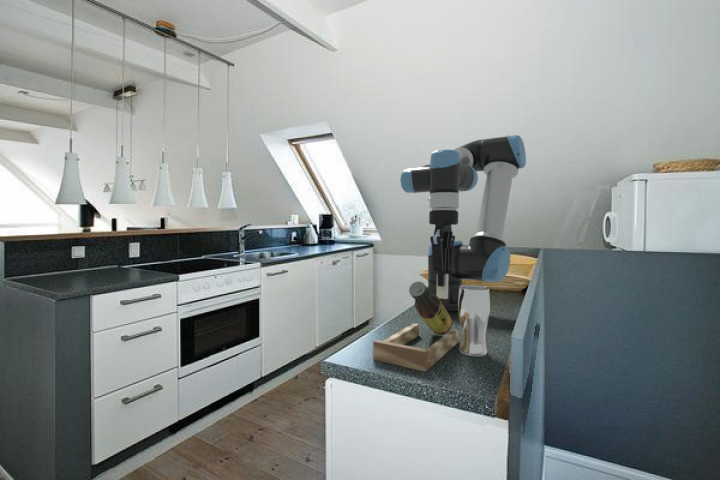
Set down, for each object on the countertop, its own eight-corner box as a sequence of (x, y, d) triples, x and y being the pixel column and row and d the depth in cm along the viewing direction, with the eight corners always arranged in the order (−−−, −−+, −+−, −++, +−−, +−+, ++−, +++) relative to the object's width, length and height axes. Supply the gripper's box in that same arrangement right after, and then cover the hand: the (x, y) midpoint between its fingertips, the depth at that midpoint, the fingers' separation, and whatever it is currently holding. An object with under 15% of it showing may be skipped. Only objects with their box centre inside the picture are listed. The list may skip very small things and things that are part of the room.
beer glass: (485, 359, 81) (486, 291, 80) (453, 354, 84) (454, 288, 84) (491, 350, 87) (492, 286, 86) (461, 345, 90) (462, 284, 90)
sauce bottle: (454, 333, 97) (432, 300, 82) (431, 338, 99) (405, 306, 85) (451, 310, 101) (428, 275, 87) (428, 315, 103) (403, 281, 89)
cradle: (413, 334, 99) (413, 319, 99) (458, 342, 93) (458, 326, 92) (373, 359, 81) (373, 341, 81) (425, 371, 74) (425, 351, 74)
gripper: (438, 210, 106) (437, 292, 107) (420, 209, 95) (419, 300, 96) (465, 210, 102) (463, 295, 103) (449, 208, 91) (447, 304, 92)
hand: (442, 297), depth 100 cm, fingers closed
